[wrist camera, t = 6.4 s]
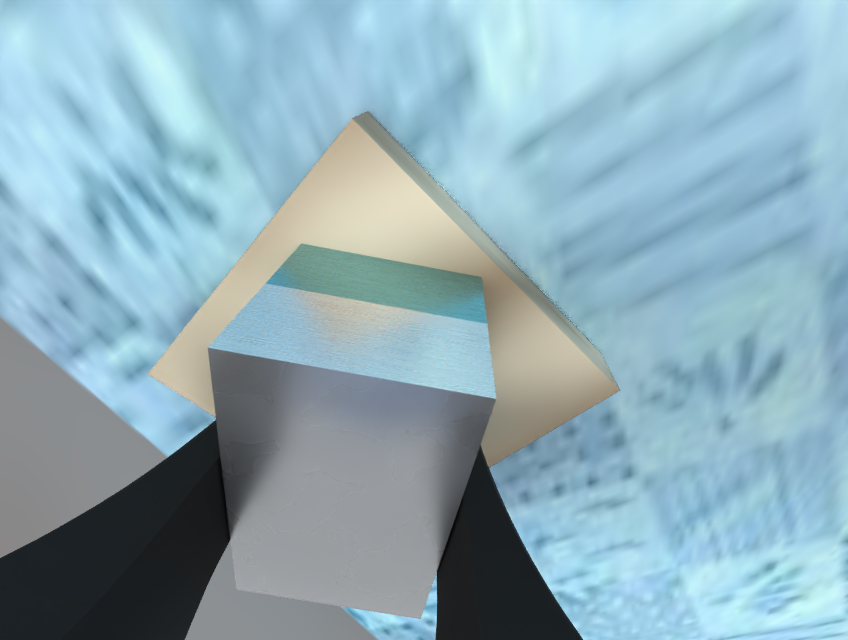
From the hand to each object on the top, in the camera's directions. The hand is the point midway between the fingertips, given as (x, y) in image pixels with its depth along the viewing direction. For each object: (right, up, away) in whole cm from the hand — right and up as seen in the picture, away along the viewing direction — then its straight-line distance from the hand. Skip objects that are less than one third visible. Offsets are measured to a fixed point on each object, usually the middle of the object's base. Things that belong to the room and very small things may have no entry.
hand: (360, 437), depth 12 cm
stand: (0, +2, +4) cm, 4 cm away
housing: (0, +1, +2) cm, 2 cm away
